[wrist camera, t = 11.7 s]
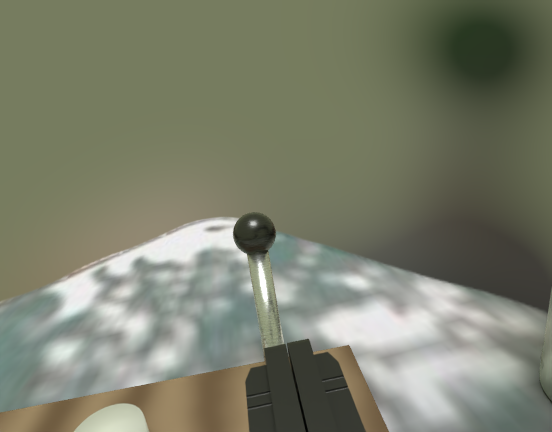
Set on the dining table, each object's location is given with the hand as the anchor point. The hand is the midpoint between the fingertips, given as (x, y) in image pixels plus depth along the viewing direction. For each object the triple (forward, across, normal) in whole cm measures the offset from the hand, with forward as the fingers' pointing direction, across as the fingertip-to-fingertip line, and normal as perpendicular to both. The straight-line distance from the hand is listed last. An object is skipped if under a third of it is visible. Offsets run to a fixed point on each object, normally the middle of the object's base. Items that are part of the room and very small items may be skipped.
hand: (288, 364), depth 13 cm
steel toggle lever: (+10, 0, +16) cm, 19 cm away
